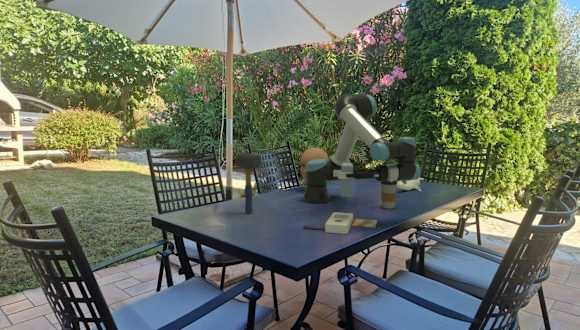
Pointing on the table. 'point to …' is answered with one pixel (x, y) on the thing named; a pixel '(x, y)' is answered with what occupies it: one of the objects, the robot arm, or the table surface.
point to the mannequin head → (311, 158)
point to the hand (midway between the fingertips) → (336, 174)
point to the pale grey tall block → (347, 181)
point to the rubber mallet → (248, 174)
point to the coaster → (364, 223)
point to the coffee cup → (388, 194)
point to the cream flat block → (336, 223)
